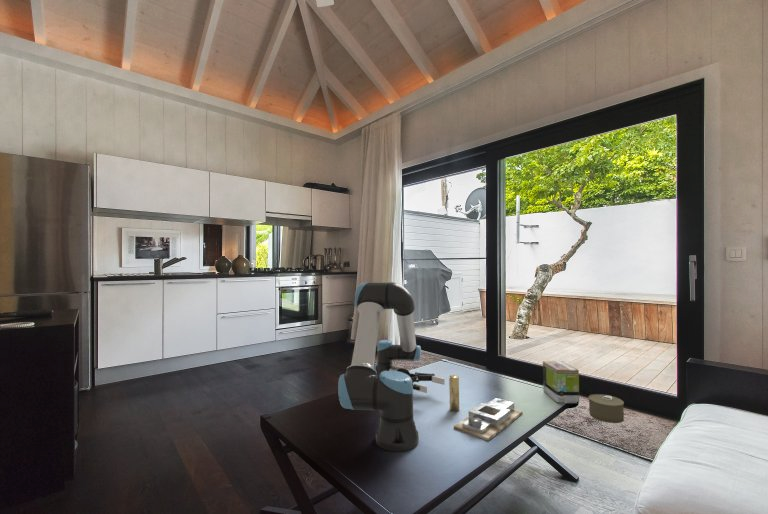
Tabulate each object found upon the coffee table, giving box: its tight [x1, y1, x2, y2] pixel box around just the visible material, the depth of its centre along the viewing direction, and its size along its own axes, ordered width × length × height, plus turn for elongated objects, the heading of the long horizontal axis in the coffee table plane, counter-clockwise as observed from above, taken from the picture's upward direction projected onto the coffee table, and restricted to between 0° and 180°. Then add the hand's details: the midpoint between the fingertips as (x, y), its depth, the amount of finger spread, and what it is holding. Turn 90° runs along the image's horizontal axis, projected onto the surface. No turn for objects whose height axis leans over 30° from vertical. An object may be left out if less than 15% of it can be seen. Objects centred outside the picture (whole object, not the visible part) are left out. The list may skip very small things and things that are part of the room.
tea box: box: [542, 360, 580, 404], centre depth 161 cm, size 15×10×15 cm, turn 179°
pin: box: [448, 374, 460, 413], centre depth 148 cm, size 4×4×14 cm
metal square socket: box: [462, 397, 515, 434], centre depth 137 cm, size 28×12×3 cm, turn 137°
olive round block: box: [588, 393, 625, 424], centre depth 139 cm, size 12×12×7 cm
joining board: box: [453, 408, 524, 442], centre depth 137 cm, size 30×14×1 cm, turn 137°
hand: (435, 385), depth 155 cm, fingers open, 13 cm apart
